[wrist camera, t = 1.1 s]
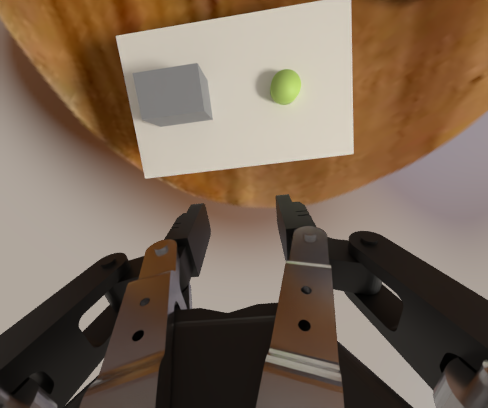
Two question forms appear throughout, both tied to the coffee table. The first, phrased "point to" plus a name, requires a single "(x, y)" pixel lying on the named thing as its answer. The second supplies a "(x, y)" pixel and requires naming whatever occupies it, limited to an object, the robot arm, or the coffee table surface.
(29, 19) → the coffee table surface
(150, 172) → the plate
